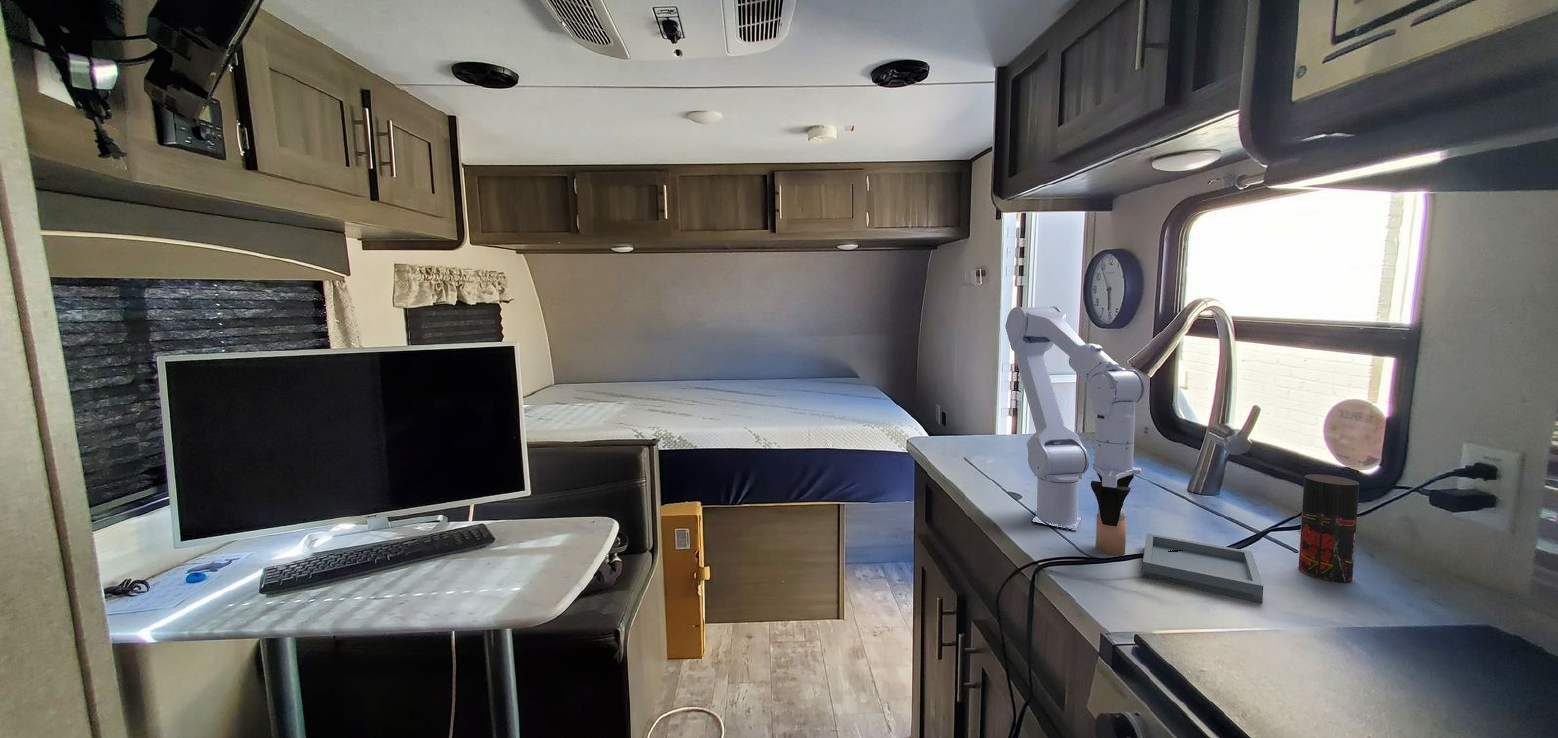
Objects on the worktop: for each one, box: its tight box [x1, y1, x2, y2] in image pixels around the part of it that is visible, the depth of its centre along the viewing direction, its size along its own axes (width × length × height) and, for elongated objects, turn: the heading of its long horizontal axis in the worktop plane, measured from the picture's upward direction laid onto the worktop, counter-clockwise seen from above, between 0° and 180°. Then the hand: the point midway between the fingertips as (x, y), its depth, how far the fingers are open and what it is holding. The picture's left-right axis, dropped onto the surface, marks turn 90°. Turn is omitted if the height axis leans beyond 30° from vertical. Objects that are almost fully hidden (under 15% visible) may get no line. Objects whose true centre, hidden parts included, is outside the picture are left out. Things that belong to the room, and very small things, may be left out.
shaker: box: [1095, 506, 1127, 557], centre depth 94 cm, size 4×4×8 cm
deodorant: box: [1297, 473, 1360, 584], centre depth 84 cm, size 6×6×15 cm
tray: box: [1142, 532, 1264, 604], centre depth 86 cm, size 14×14×2 cm
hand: (1111, 518), depth 94 cm, fingers open, 7 cm apart
